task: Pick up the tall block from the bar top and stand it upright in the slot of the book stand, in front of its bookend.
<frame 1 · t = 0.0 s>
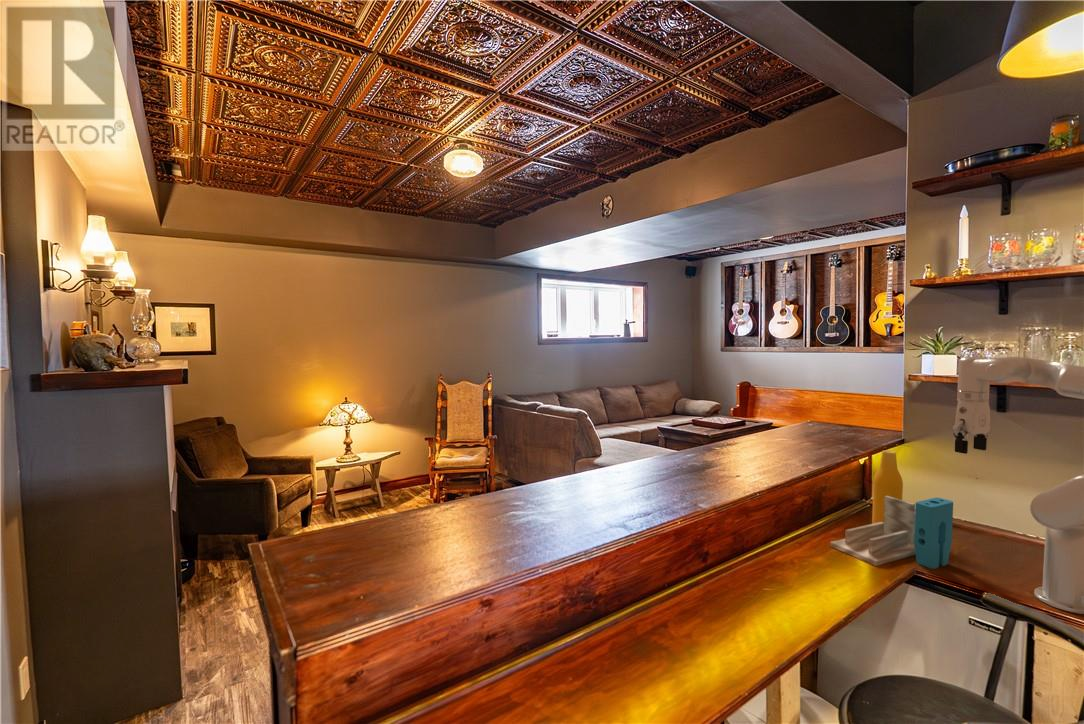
hand: (970, 451, 158), 37 cm above the bar counter, tool pointing down, fingers open, 9 cm apart
book stand: (876, 549, 173), on the bar counter
beer bottle: (886, 527, 192), on the bar counter
block: (932, 563, 162), on the bar counter
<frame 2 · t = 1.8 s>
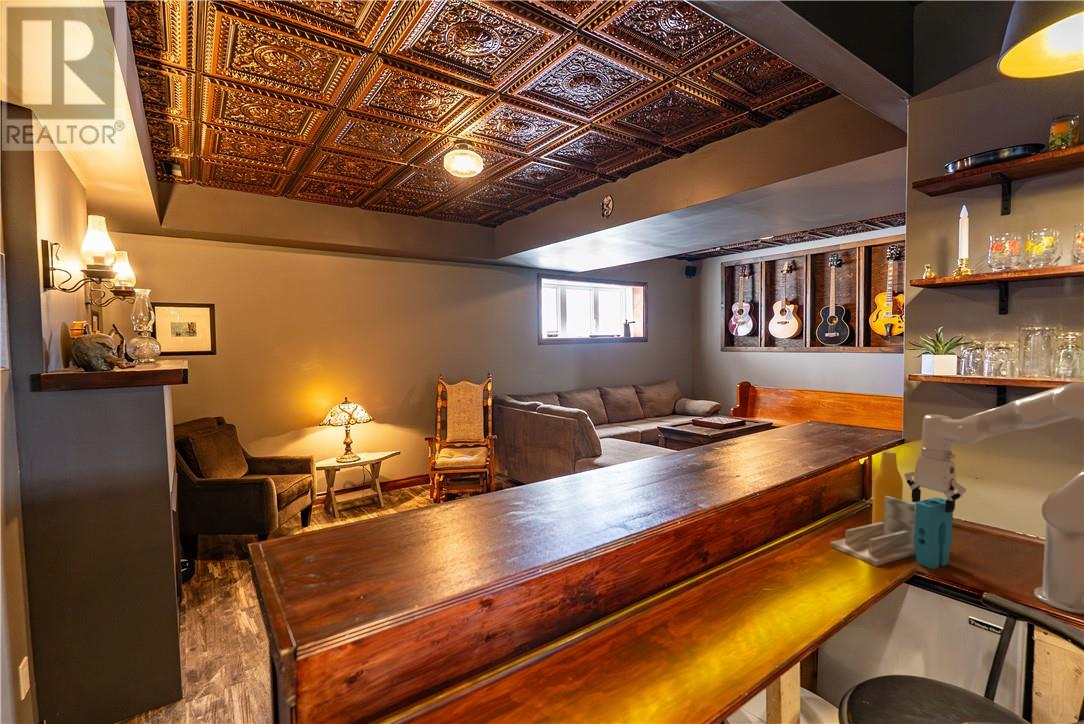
hand: (932, 506, 162), 18 cm above the bar counter, tool pointing down, fingers open, 9 cm apart
nothing on the bar counter moved.
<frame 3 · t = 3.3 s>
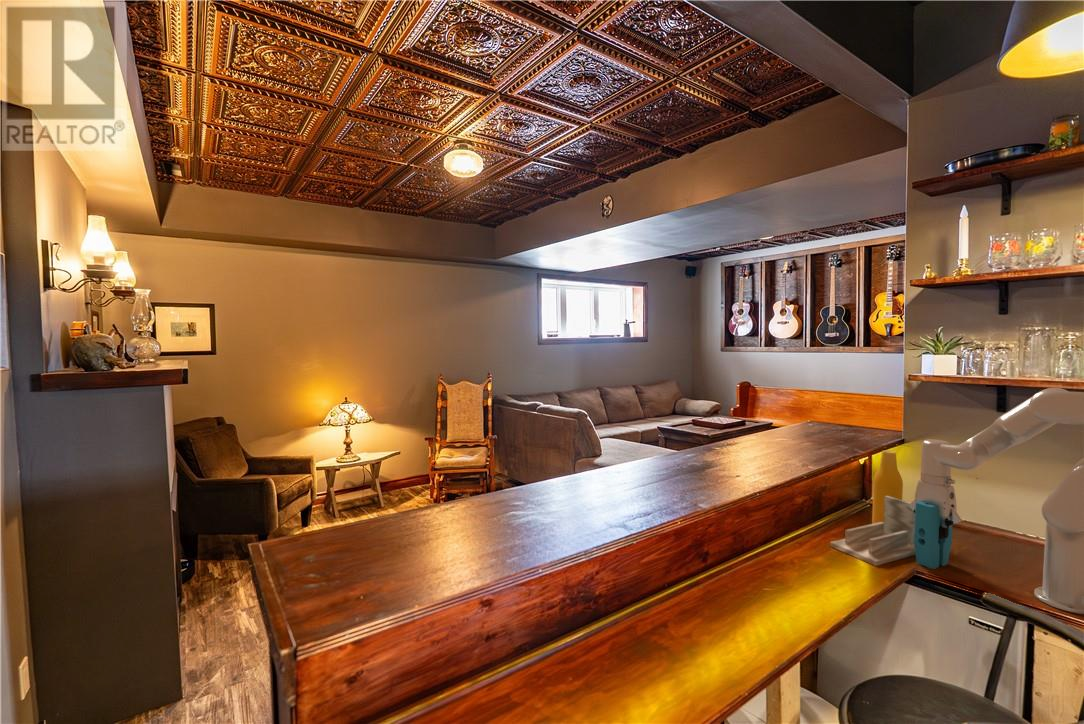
hand: (933, 534, 162), 9 cm above the bar counter, tool pointing down, fingers closed on block, 5 cm apart
block: (932, 563, 162), on the bar counter, touching gripper
everything else where it was.
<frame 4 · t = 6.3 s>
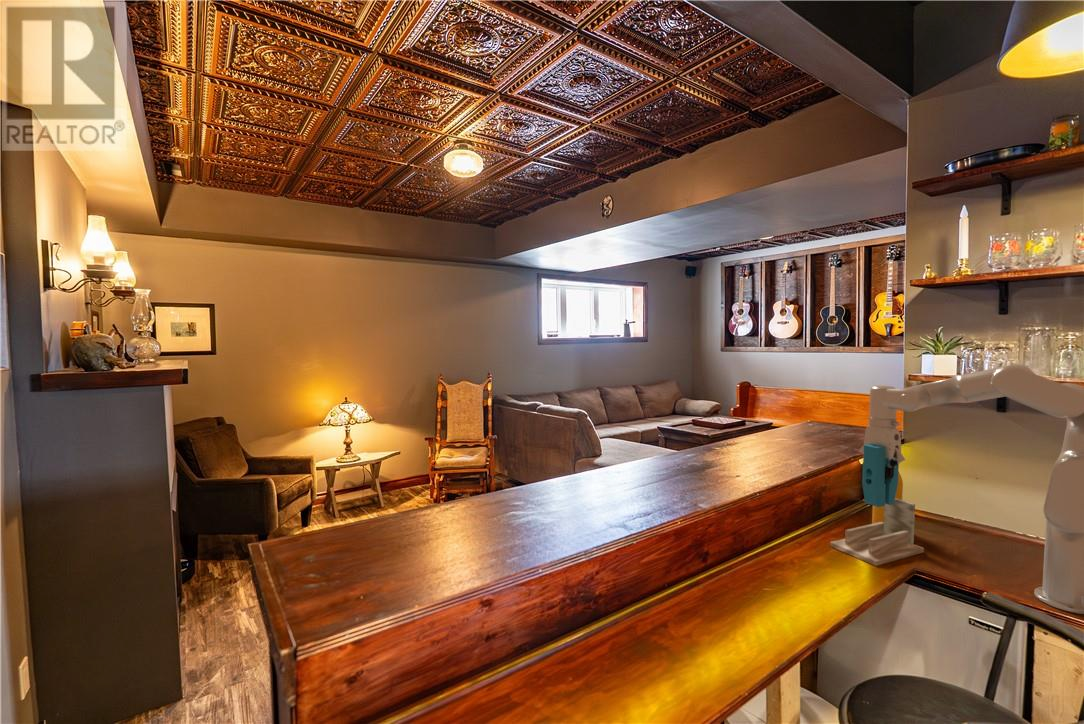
hand: (880, 475, 171), 26 cm above the bar counter, tool pointing down, fingers closed on block, 5 cm apart
block: (879, 503, 172), point 16 cm above the bar counter, touching gripper
everything else where it was.
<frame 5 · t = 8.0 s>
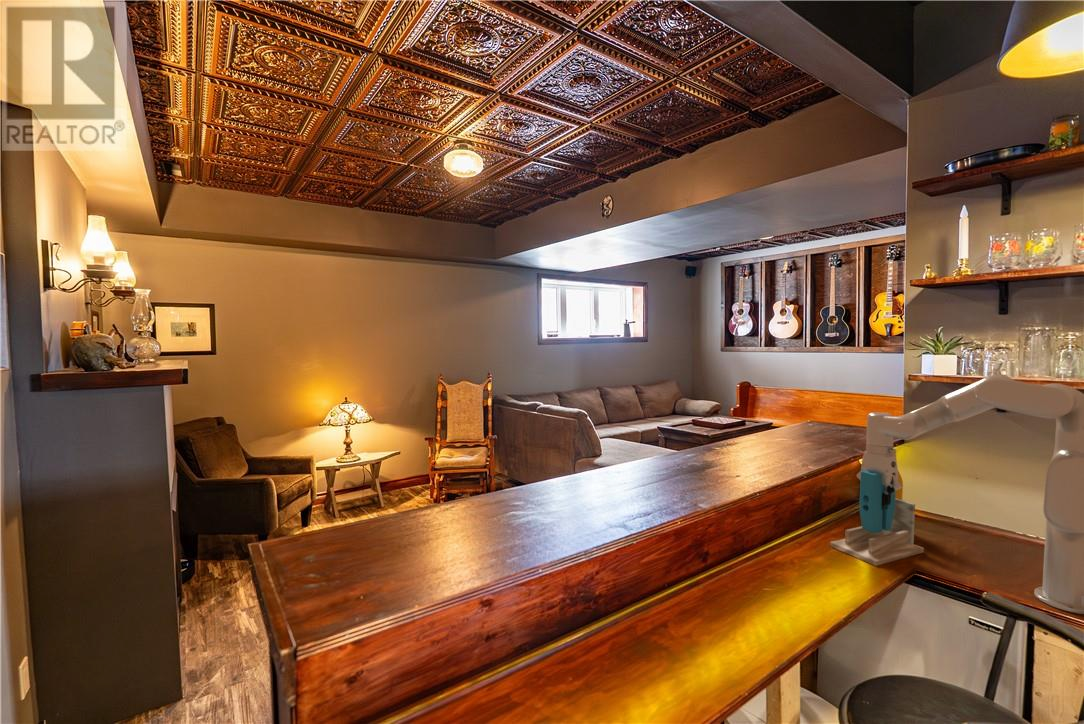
hand: (877, 501, 172), 17 cm above the bar counter, tool pointing down, fingers closed on block, 5 cm apart
block: (876, 529, 173), point 7 cm above the bar counter, touching gripper
everything else where it was.
when the fingers open (12 cm above the bar counter, at t = 9.3 s): block stays where it is, resting on book stand.
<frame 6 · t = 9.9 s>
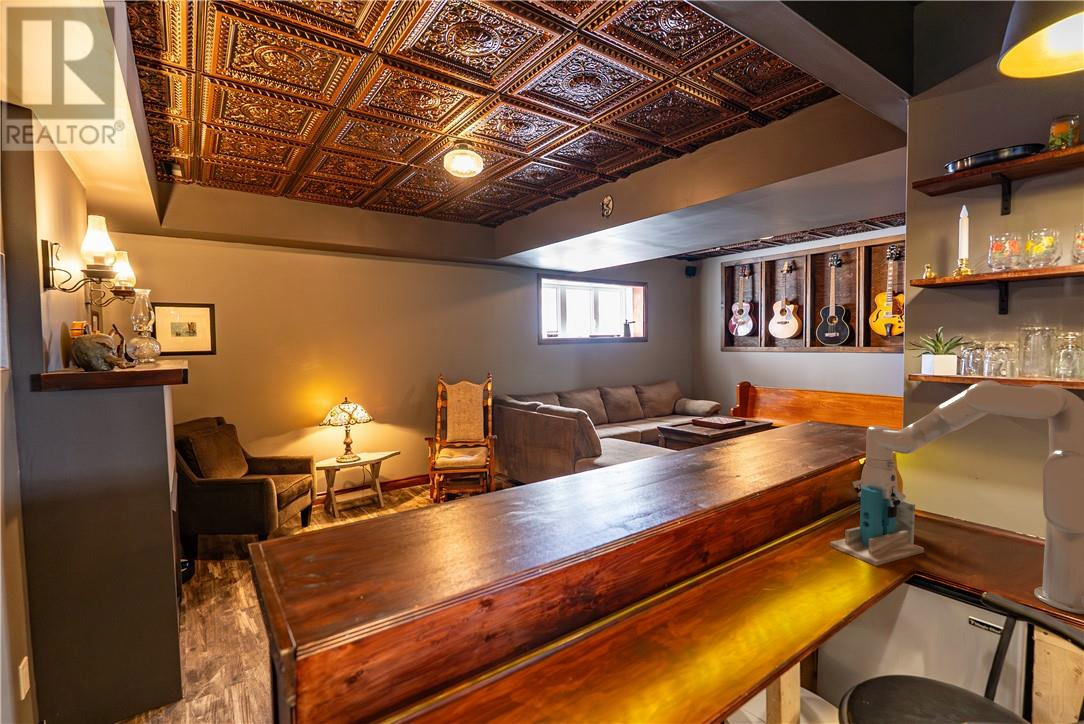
hand: (877, 512, 172), 13 cm above the bar counter, tool pointing down, fingers open, 9 cm apart
block: (877, 545, 173), point 1 cm above the bar counter, touching book stand
everything else where it was.
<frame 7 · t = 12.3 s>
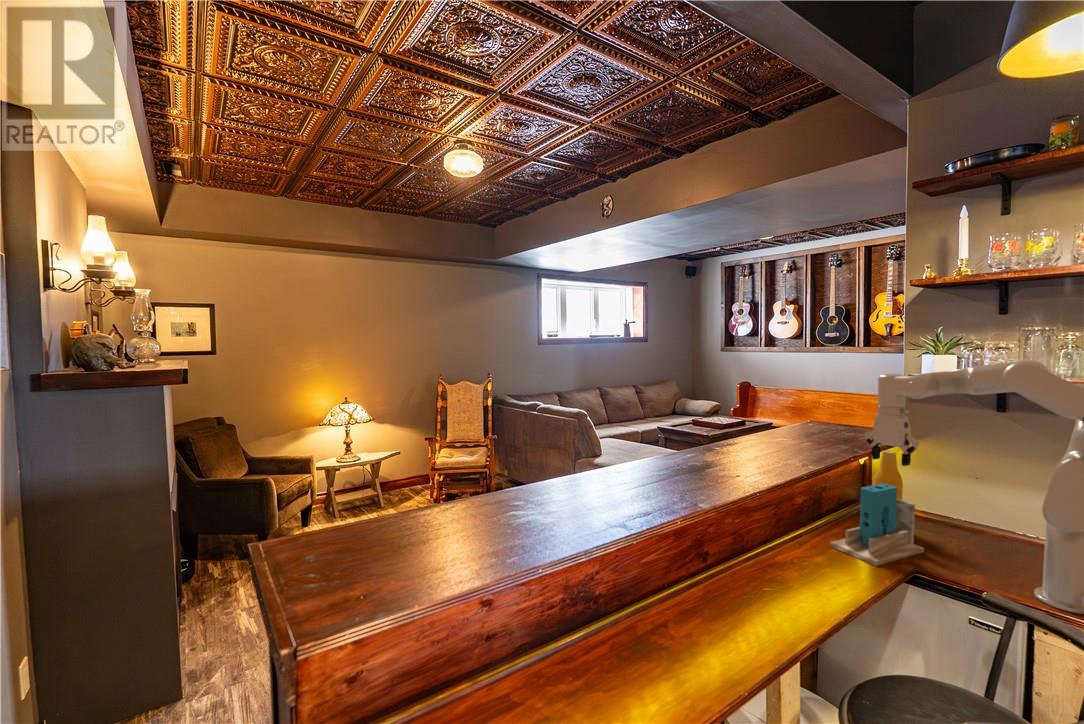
hand: (890, 462, 170), 31 cm above the bar counter, tool pointing down, fingers open, 9 cm apart
nothing on the bar counter moved.
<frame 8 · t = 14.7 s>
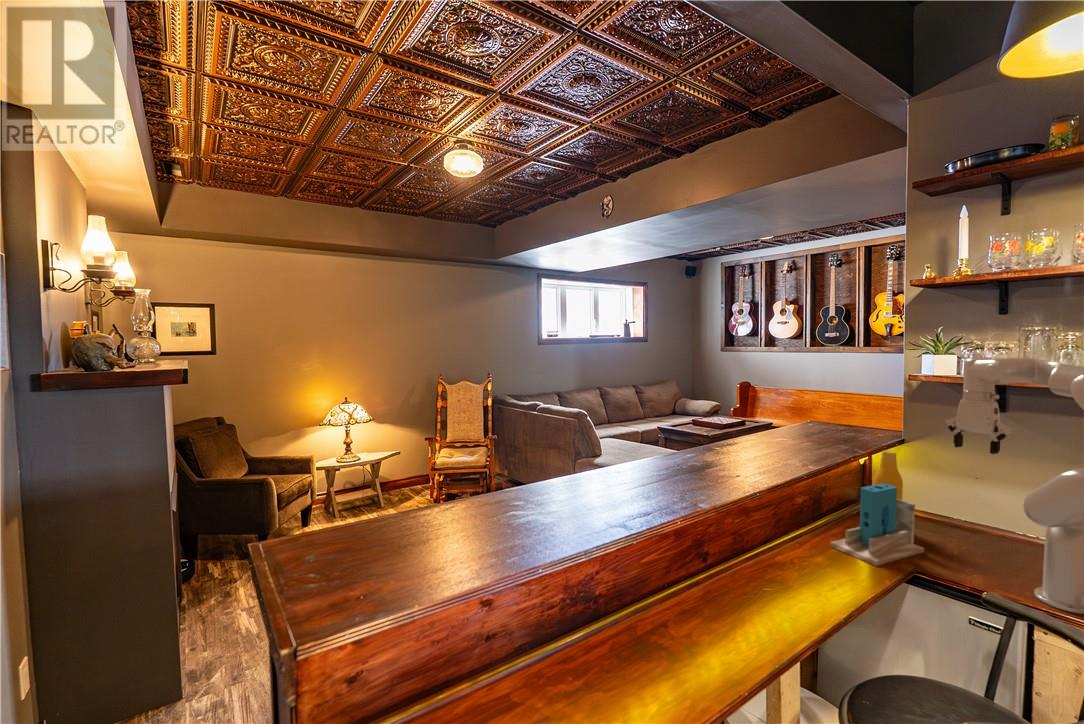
hand: (975, 450, 161), 36 cm above the bar counter, tool pointing down, fingers open, 9 cm apart
nothing on the bar counter moved.
at the end: block 0.2 cm off-centre on the book stand, point 1.3 cm above the book stand's base; block tilted 0°; the gripper is holding nothing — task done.
